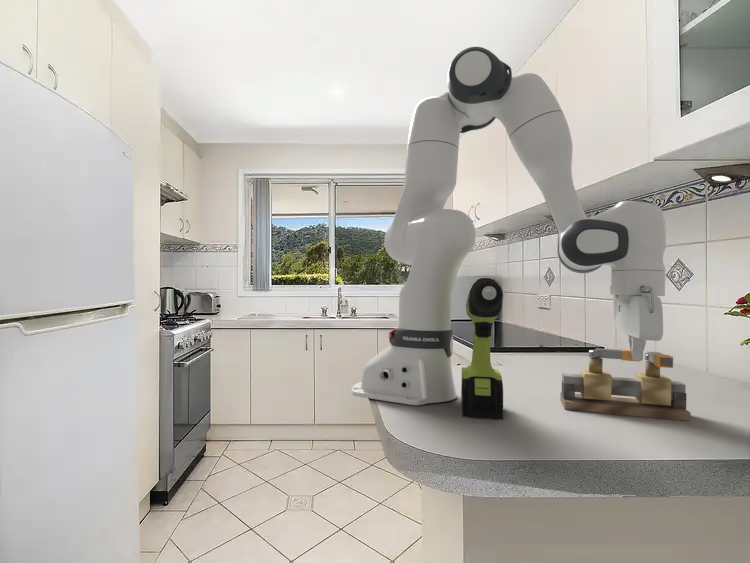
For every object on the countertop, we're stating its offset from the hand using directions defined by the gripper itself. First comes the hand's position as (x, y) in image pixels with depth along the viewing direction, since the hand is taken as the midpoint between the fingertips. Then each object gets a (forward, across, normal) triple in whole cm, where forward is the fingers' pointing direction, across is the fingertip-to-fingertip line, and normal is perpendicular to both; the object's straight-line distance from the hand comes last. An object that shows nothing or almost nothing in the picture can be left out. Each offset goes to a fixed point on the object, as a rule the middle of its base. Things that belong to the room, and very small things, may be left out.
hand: (636, 359), depth 85 cm
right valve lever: (0, 0, -4) cm, 4 cm away
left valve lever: (0, +2, +3) cm, 4 cm away
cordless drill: (+11, -13, +27) cm, 32 cm away
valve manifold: (+10, +3, +2) cm, 11 cm away
